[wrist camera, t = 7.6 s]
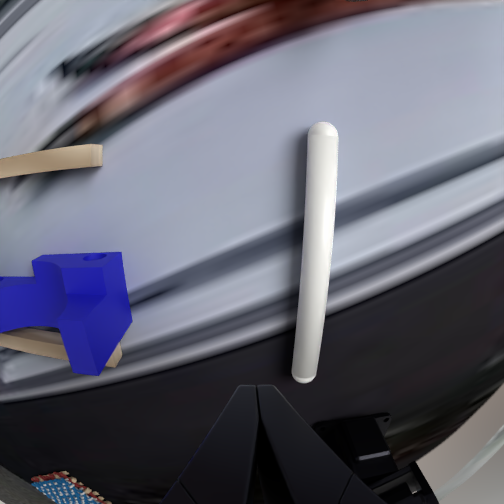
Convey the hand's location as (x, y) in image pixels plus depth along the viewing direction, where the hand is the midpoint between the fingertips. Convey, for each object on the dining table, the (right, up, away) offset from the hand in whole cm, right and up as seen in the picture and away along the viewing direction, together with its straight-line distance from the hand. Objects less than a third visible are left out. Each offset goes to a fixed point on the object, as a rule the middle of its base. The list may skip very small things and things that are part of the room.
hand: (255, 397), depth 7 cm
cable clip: (-14, +1, +11) cm, 18 cm away
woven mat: (-22, -27, +19) cm, 40 cm away
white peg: (+3, +3, +11) cm, 12 cm away
